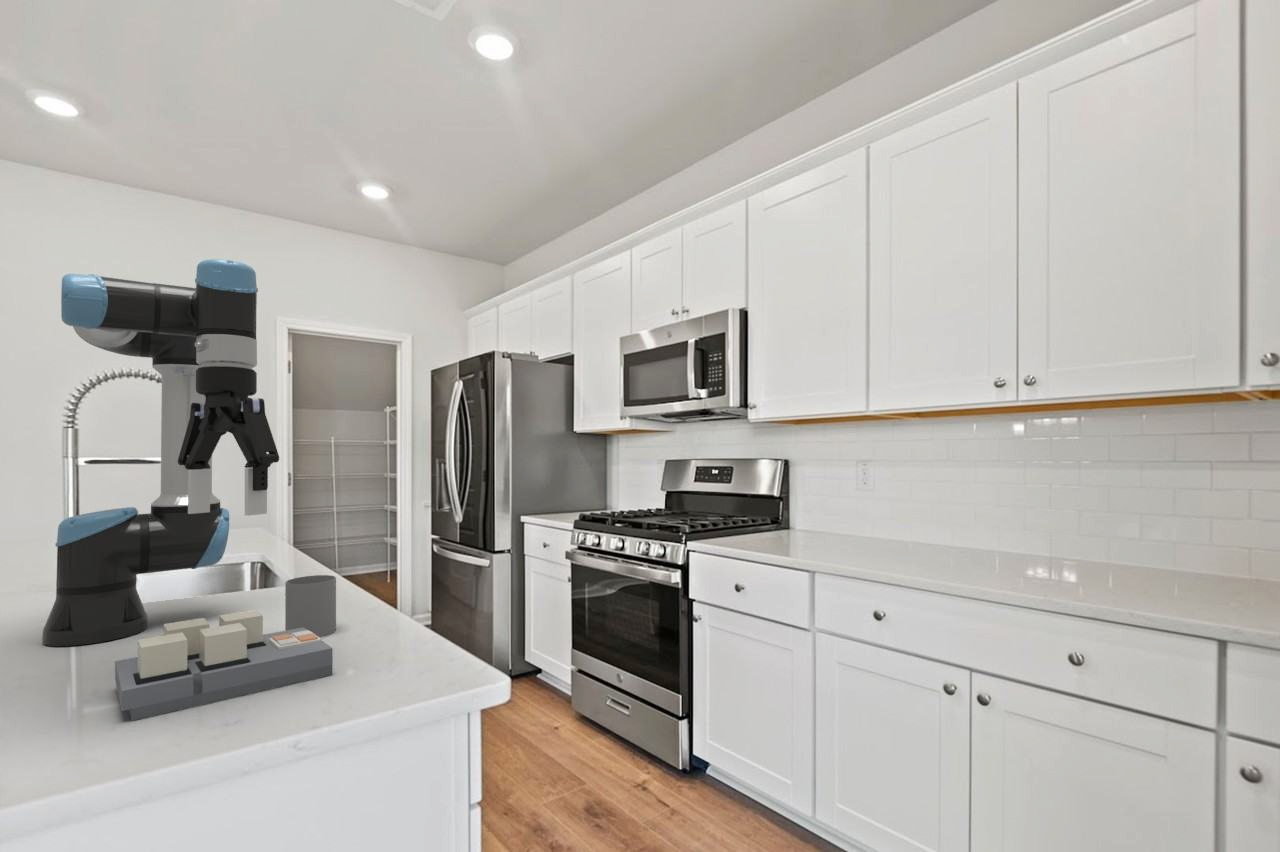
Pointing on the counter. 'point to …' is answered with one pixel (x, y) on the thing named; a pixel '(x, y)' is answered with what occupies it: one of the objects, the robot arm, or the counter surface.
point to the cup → (311, 604)
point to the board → (225, 674)
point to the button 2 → (188, 632)
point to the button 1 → (162, 655)
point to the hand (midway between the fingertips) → (226, 514)
